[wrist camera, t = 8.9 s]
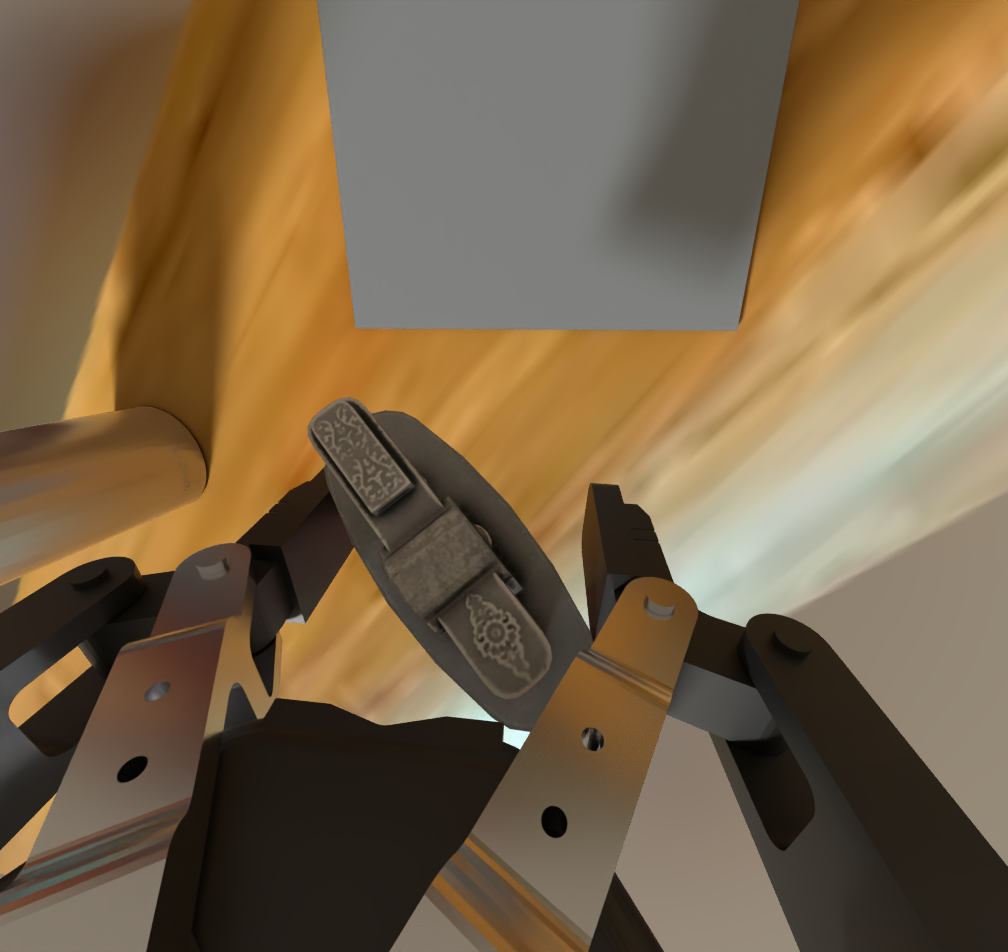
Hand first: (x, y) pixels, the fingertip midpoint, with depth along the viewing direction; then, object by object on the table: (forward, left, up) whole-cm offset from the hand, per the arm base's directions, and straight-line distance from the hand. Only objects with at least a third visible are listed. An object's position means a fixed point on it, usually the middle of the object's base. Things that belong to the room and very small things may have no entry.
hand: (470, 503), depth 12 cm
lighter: (-1, -4, -3) cm, 6 cm away
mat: (-1, +14, -18) cm, 23 cm away
